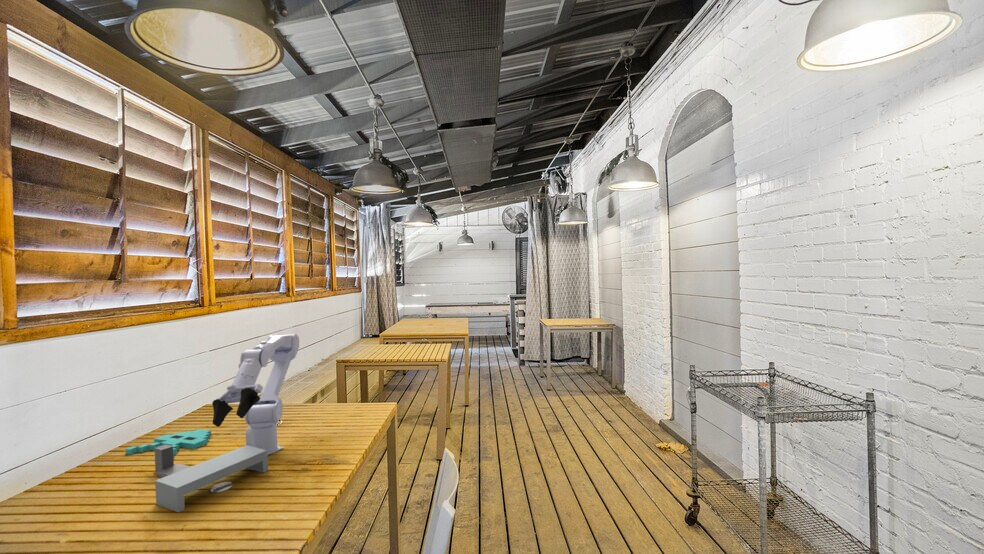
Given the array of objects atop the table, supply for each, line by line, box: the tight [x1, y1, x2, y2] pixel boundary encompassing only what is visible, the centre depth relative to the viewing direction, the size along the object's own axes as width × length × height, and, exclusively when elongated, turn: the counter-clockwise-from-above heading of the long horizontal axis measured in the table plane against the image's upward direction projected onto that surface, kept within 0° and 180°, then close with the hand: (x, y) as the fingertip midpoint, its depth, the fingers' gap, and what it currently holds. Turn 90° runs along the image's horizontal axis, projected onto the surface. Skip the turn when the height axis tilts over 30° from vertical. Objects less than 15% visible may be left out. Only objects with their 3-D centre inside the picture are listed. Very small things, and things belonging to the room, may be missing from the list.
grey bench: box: [154, 444, 269, 513], centre depth 117 cm, size 10×24×6 cm, turn 153°
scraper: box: [154, 444, 191, 478], centre depth 124 cm, size 21×6×7 cm, turn 63°
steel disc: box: [210, 481, 233, 494], centre depth 115 cm, size 5×5×1 cm
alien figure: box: [125, 428, 212, 459], centre depth 148 cm, size 20×2×20 cm
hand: (227, 420), depth 116 cm, fingers open, 7 cm apart
